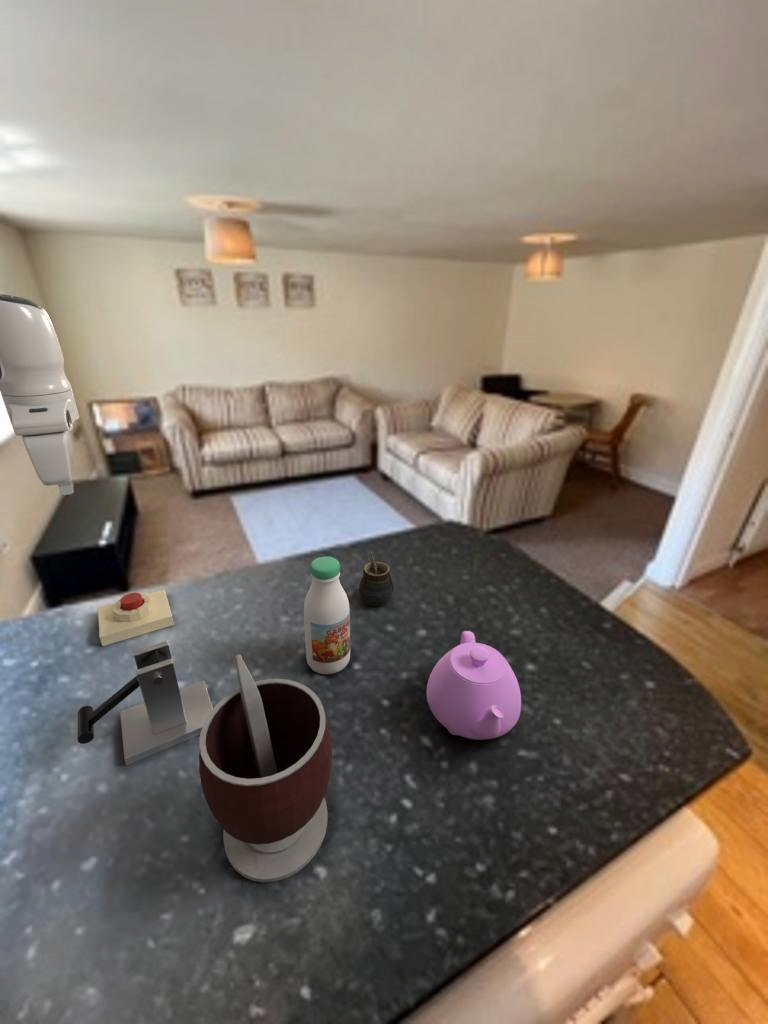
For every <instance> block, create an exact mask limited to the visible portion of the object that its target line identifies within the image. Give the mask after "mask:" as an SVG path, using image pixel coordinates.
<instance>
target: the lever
mask: <svg viewBox="0 0 768 1024" xmlns="http://www.w3.org/2000/svg"><path fill="white" fill-rule="evenodd" d="M165 660H168V658H166V657H165V656H163V655H162V654H160V653H159V652H157V651H156V652H155V653H153V654H152V655H151V656H150V657H149V658H147V659H146V660H145V661H144V662H142V663H141V664H140V669H141V668H144V667H147V666H150V665H153V664H156V663H159V662H162V661H165ZM138 688H140V685H139V682H138V678H137V675H135V676H134V677H133V678H132V679H130V681H128V682H127V683H126V684H124V685H123V686H122V687H121V688H119V689H118V690H117V691H116V692H115V693H113V695H111V696H110V697H109V698H108V699H107V700H105V701H104V702H103V703H101V704H100V705H99V706H98V707H96V708H95V709H94V707H93V706H91V705H83V706H82V707H80V708H79V709H78V711H77V743H78V744H80V745H85V744H89V743H91V742H93V740H94V738H95V725H96V723H97V722H99V721H100V720H101V719H102V718H103V717H104V716H106V715H107V714H108V713H110V712H111V711H112V710H113V709H114V708H116V707H117V706H118V705H119V704H120V703H121V702H123V701H124V700H125V699H127V698H128V697H129V696H130V695H131V694H133V692H135V691H136V690H137V689H138Z"/></svg>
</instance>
